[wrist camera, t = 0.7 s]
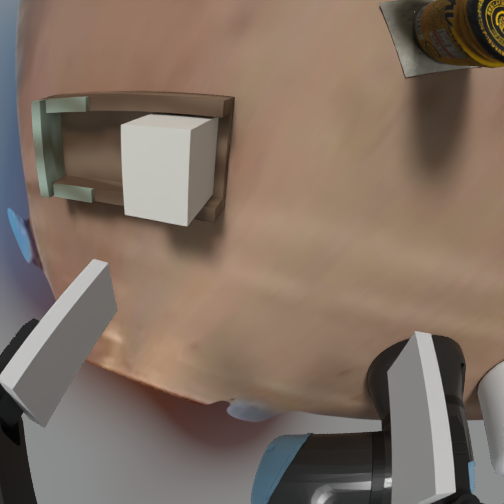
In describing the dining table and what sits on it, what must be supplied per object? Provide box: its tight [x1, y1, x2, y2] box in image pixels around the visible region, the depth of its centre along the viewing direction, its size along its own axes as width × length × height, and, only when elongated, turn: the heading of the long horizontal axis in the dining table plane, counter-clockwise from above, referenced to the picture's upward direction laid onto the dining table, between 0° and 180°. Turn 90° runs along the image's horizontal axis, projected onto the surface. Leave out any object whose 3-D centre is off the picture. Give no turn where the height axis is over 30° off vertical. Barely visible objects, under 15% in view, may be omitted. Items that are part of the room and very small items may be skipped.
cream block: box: [121, 112, 219, 227], centre depth 27 cm, size 8×6×7 cm
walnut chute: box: [31, 91, 234, 223], centre depth 30 cm, size 12×22×4 cm, turn 83°
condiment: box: [379, 0, 504, 77], centre depth 15 cm, size 7×8×12 cm
